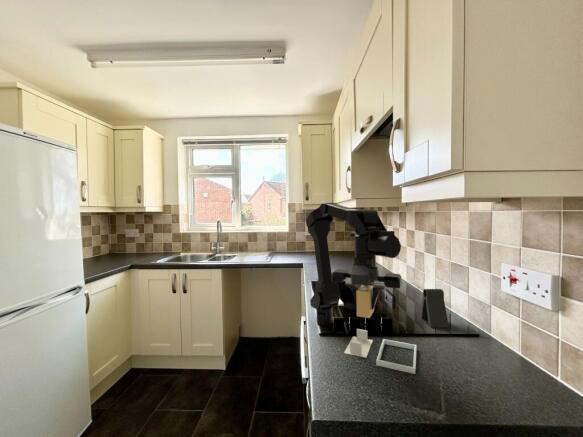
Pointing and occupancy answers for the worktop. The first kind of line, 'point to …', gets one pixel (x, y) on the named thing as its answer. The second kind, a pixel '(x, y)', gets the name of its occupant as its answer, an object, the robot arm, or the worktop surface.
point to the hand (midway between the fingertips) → (365, 308)
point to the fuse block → (359, 344)
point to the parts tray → (394, 365)
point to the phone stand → (434, 309)
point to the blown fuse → (364, 301)
